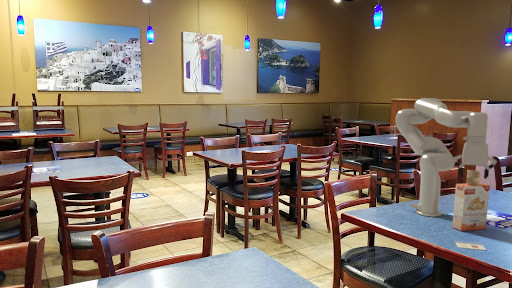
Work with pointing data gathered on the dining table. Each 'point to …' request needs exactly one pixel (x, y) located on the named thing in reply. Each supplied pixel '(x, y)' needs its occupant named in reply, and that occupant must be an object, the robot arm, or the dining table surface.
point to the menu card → (469, 245)
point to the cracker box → (470, 207)
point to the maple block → (473, 177)
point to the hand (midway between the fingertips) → (473, 177)
